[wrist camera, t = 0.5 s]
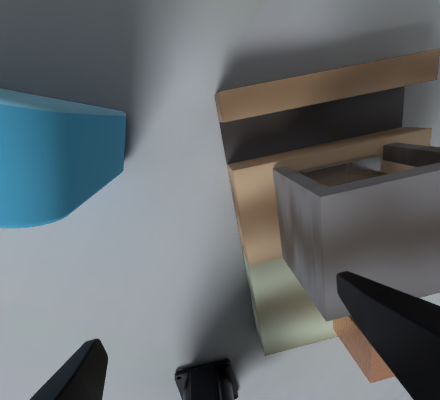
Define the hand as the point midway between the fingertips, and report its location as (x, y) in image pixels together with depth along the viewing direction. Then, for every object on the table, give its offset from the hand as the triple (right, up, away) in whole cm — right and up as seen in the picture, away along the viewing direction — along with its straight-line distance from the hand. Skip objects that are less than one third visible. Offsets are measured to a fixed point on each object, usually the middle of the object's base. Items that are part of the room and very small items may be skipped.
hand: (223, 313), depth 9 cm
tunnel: (+10, +3, +15) cm, 18 cm away
